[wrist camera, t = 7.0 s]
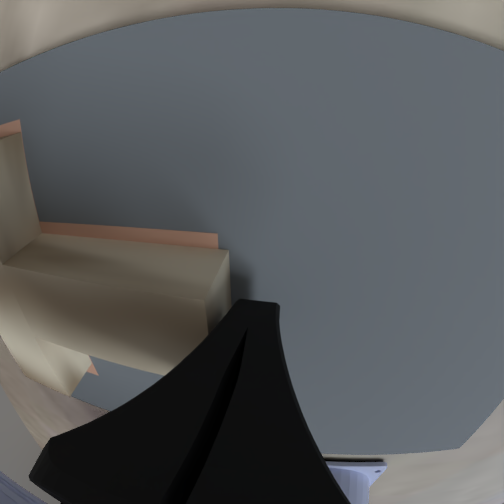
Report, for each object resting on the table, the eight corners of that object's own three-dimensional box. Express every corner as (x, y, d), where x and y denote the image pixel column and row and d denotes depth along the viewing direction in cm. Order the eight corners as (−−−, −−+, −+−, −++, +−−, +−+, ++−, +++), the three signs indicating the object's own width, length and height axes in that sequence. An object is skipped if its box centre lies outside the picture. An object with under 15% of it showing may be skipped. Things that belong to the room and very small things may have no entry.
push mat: (456, 435, 15) (459, 448, 14) (51, 375, 20) (44, 384, 19) (601, 110, 5) (617, 115, 4) (-42, 100, 10) (-56, 104, 9)
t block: (236, 397, 14) (224, 442, 12) (47, 347, 16) (25, 376, 13) (224, 107, 8) (190, 118, 6) (-22, 143, 10) (-63, 162, 7)
